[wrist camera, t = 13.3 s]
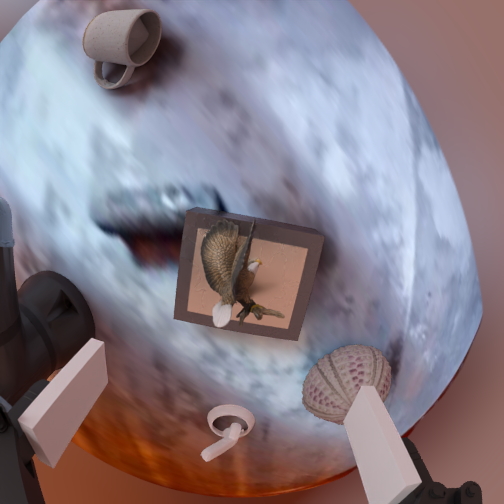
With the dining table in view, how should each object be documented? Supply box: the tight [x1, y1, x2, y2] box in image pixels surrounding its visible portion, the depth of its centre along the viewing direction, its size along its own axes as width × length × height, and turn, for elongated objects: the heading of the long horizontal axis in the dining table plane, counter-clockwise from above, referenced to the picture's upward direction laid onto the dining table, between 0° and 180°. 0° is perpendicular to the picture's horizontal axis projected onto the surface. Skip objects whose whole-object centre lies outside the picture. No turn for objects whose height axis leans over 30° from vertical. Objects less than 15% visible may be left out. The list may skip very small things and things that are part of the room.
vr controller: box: [201, 405, 255, 462], centre depth 37 cm, size 8×12×7 cm
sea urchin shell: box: [302, 344, 392, 425], centre depth 34 cm, size 13×14×8 cm
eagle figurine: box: [200, 219, 285, 328], centre depth 26 cm, size 8×7×9 cm
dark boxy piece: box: [174, 207, 325, 341], centre depth 32 cm, size 12×14×5 cm
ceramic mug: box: [83, 9, 162, 89], centre depth 24 cm, size 11×8×8 cm
